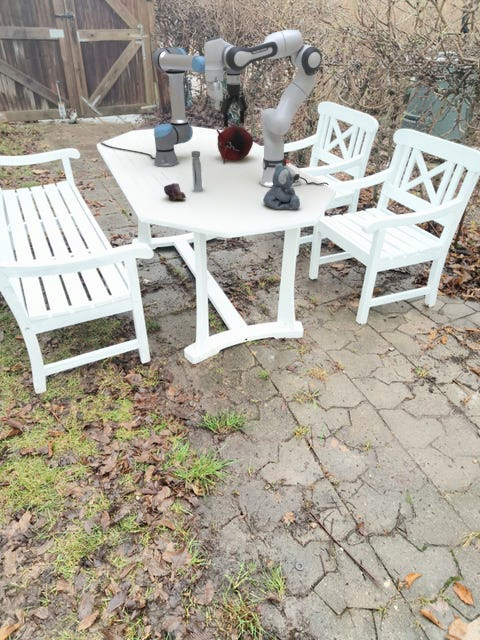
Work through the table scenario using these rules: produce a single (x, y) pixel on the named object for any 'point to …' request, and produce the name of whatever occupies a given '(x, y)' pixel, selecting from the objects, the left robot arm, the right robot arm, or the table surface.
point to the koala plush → (282, 190)
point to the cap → (195, 154)
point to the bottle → (197, 174)
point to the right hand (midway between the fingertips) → (215, 108)
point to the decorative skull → (234, 143)
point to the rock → (174, 191)
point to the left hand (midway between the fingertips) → (234, 125)
